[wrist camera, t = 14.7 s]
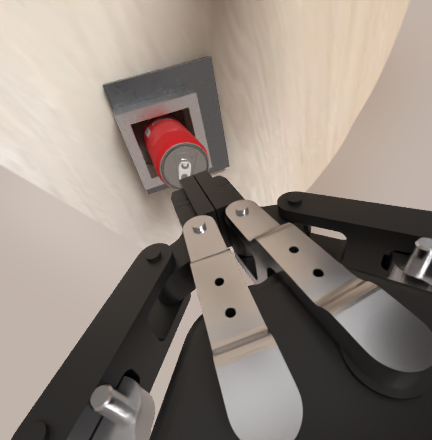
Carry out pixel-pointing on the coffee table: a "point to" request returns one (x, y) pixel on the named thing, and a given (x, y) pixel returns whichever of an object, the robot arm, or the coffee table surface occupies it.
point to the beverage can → (173, 150)
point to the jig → (166, 103)
